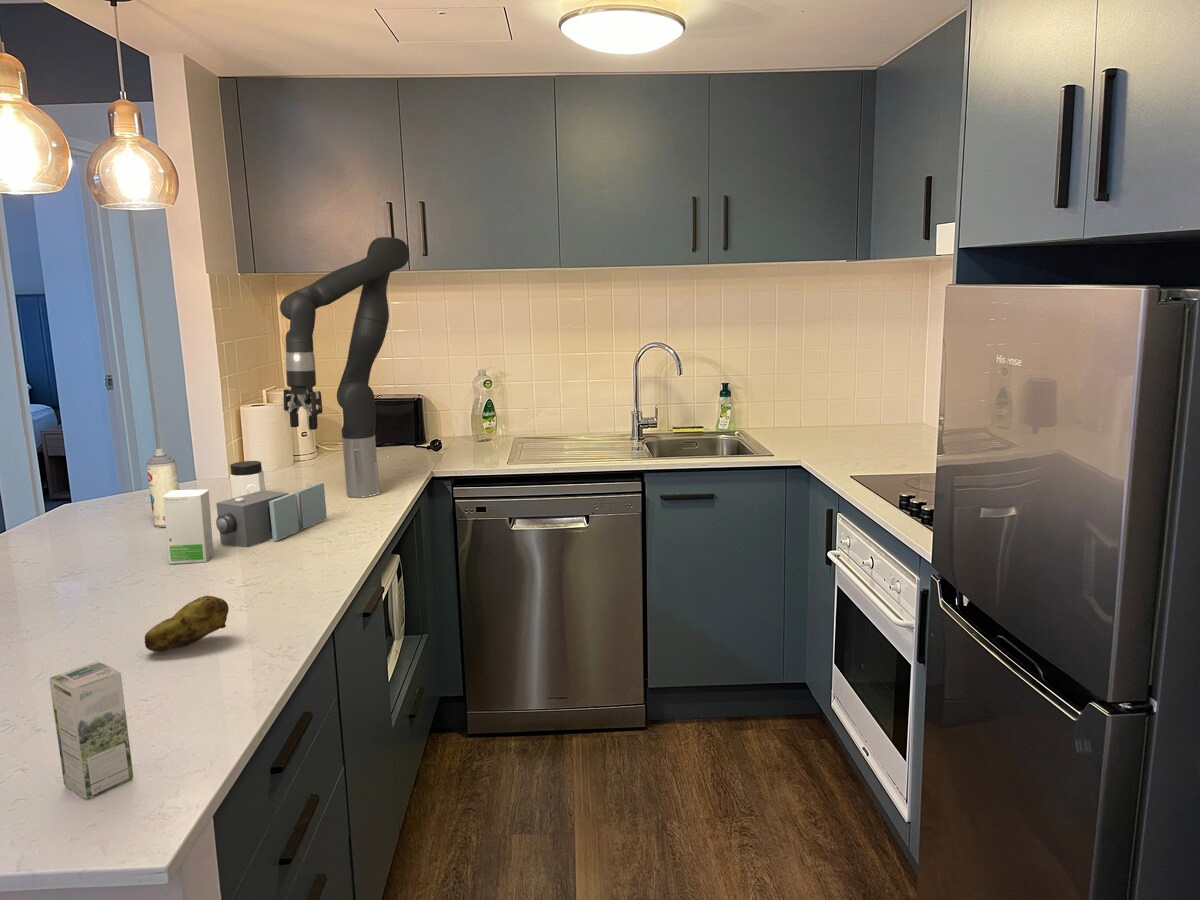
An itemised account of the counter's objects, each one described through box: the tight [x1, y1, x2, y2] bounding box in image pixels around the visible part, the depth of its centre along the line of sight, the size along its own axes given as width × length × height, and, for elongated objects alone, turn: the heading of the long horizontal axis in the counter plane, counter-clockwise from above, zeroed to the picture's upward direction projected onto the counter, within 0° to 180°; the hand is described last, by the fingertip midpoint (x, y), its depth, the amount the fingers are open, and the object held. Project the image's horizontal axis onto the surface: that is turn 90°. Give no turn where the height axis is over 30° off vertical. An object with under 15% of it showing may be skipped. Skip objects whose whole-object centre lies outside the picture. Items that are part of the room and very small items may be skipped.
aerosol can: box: [146, 448, 180, 528], centre depth 227 cm, size 7×7×20 cm
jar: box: [229, 460, 266, 499], centre depth 246 cm, size 9×8×12 cm
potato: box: [144, 595, 229, 653], centre depth 148 cm, size 8×13×8 cm, turn 106°
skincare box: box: [163, 489, 214, 565], centre depth 196 cm, size 8×7×16 cm
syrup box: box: [49, 660, 134, 800], centre depth 106 cm, size 6×6×14 cm
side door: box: [269, 482, 328, 541], centre depth 218 cm, size 20×1×10 cm, turn 163°
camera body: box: [215, 489, 290, 548], centre depth 212 cm, size 16×9×11 cm, turn 153°
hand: (303, 428), depth 240 cm, fingers open, 8 cm apart
